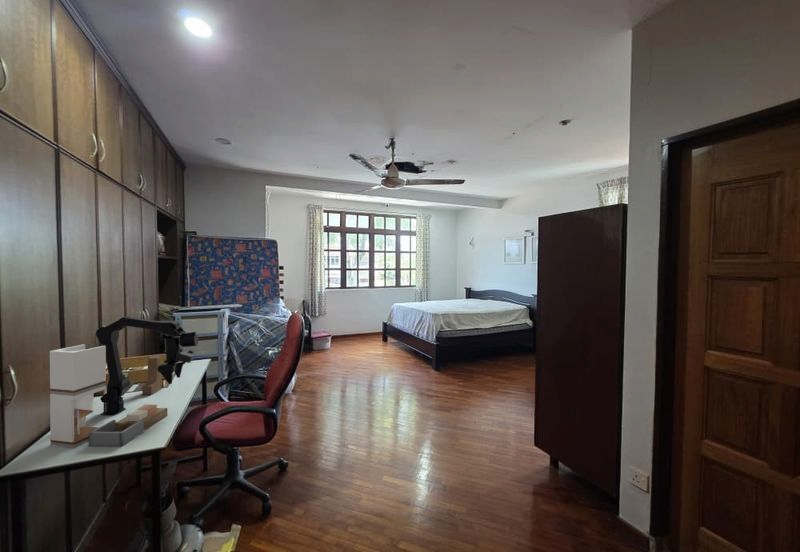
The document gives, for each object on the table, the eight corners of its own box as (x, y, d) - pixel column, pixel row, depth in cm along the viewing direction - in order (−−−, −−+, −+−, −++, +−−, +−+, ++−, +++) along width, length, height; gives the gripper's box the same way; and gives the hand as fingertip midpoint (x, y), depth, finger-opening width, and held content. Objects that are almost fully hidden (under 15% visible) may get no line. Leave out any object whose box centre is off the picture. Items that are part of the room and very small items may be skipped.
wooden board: (114, 431, 137) (114, 423, 137) (142, 415, 152) (142, 407, 152) (142, 431, 137) (142, 423, 137) (167, 415, 152) (167, 407, 152)
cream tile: (126, 420, 139) (126, 414, 139) (135, 415, 144) (135, 409, 144) (138, 421, 139) (138, 414, 139) (147, 415, 144) (147, 409, 144)
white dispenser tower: (74, 448, 124) (73, 352, 123) (50, 445, 126) (49, 351, 125) (106, 433, 136) (105, 345, 135) (84, 430, 137) (83, 344, 136)
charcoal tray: (88, 446, 126) (88, 433, 125) (113, 432, 137) (113, 419, 136) (121, 446, 126) (121, 433, 126) (143, 432, 137) (143, 419, 137)
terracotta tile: (136, 415, 144) (136, 409, 144) (145, 410, 149) (145, 404, 149) (148, 415, 144) (148, 409, 144) (156, 410, 149) (156, 404, 149)
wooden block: (151, 395, 176) (151, 360, 175) (142, 395, 175) (141, 360, 175) (161, 389, 185) (161, 355, 184) (152, 389, 184) (152, 356, 184)
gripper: (183, 351, 153) (185, 385, 154) (198, 342, 171) (200, 372, 172) (155, 353, 151) (158, 388, 151) (173, 344, 169) (175, 375, 169)
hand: (174, 380), depth 161 cm, fingers open, 9 cm apart
